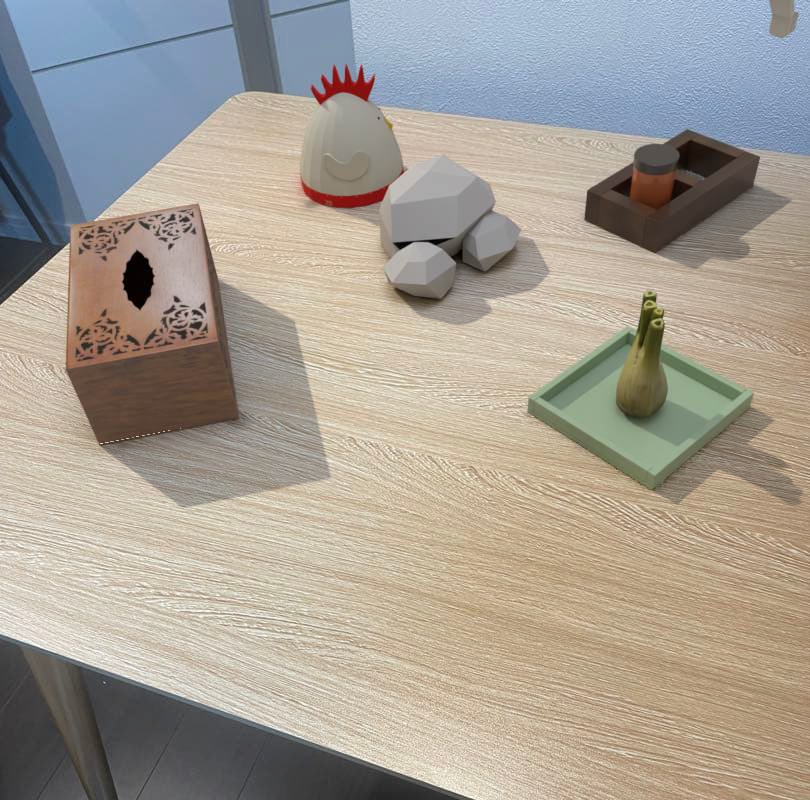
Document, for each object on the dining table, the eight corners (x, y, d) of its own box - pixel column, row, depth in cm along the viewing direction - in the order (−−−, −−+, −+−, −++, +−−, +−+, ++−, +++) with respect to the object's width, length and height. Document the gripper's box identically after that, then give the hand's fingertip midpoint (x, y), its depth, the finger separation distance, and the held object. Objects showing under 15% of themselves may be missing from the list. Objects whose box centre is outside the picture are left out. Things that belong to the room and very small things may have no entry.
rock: (543, 243, 112) (547, 168, 104) (434, 324, 103) (430, 248, 95) (432, 196, 120) (429, 123, 113) (322, 266, 111) (311, 193, 104)
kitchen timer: (402, 205, 119) (394, 88, 108) (298, 210, 120) (278, 95, 108) (404, 151, 128) (396, 38, 117) (306, 156, 129) (289, 44, 117)
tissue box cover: (239, 418, 95) (217, 341, 87) (99, 445, 94) (65, 369, 86) (218, 278, 111) (198, 203, 104) (99, 300, 110) (70, 225, 102)
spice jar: (677, 216, 114) (688, 153, 107) (650, 234, 111) (661, 170, 105) (643, 201, 116) (652, 138, 110) (617, 218, 114) (625, 155, 108)
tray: (749, 407, 91) (754, 392, 90) (651, 490, 85) (655, 475, 83) (625, 340, 99) (627, 325, 97) (527, 411, 93) (528, 396, 91)
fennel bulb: (625, 382, 94) (640, 282, 85) (671, 394, 92) (693, 294, 83) (605, 417, 91) (620, 318, 82) (654, 431, 89) (674, 331, 80)
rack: (753, 186, 117) (760, 156, 114) (655, 253, 109) (660, 223, 106) (682, 158, 122) (687, 128, 119) (583, 219, 114) (586, 189, 111)
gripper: (819, -123, 70) (776, 65, 80) (950, -189, 78) (895, -11, 88) (747, -135, 73) (715, 47, 84) (880, -198, 81) (835, -25, 92)
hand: (809, 16), depth 86 cm, fingers open, 8 cm apart
